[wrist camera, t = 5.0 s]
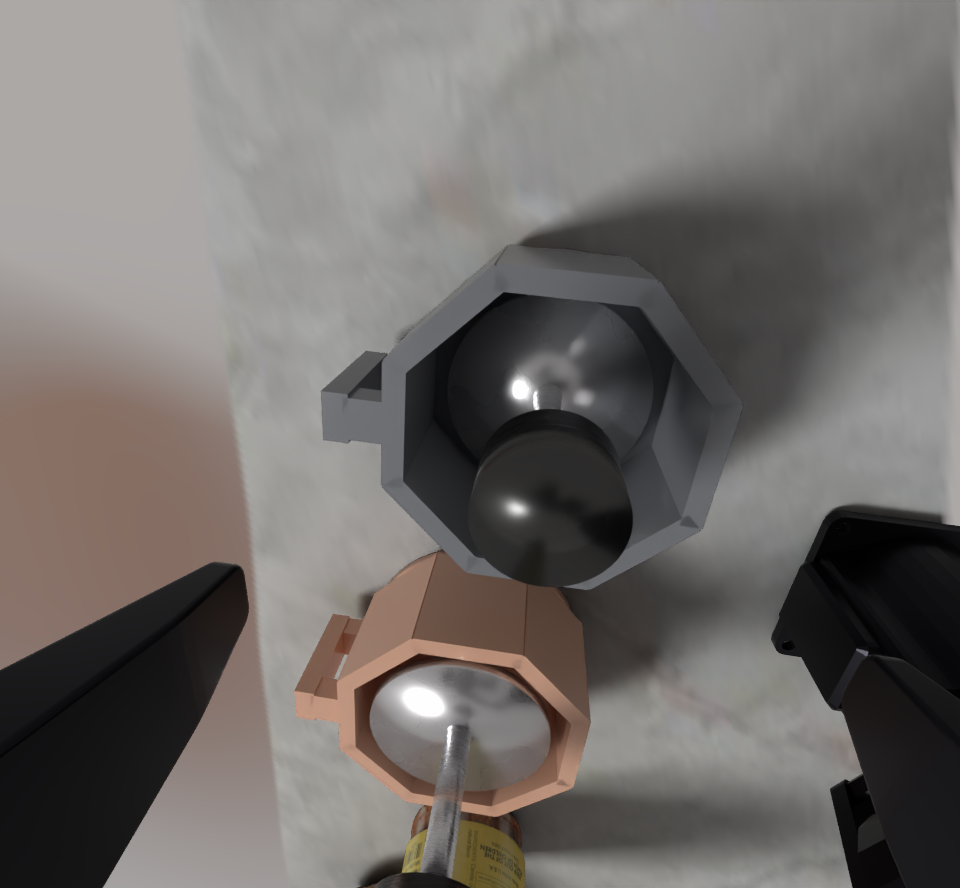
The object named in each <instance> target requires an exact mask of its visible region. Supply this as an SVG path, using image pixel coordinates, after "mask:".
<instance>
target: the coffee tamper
mask: <svg viewBox="0 0 960 888" xmlns="http://www.w3.org/2000/svg"><path fill="white" fill-rule="evenodd" d="M447 397H448V405H449V411H450V414H451V418H452V421H453V424H454V426H455V428H456V431H457V433H458V434H459V436H460V438H461V439H462V441H463V443H464V444H465V445H466V447H467V448H468V449H469V450H470V452H471V453H472V454H473V455H474V456H475V457H476V458H477V459H478V460H479V461H480V462H479V466H478V470H477V474H476V479H475V483H474V487H473V491H472V495H471V499H470V503H469V509H468V525H469V531H470V534H471V537H472V540H473V542H474V544H475V546H476V548H477V549H478V551H479V552H480V554H481V555H482V556H483V557H484V559H485V560H486V561H487V562H488V563H489V564H490V565H491V566H493V567H494V568H495V569H497V570H498V571H499V572H501V573H502V574H504V575H506V576H508V577H509V578H512V579H514V580H516V581H519V582H522V583H525V584H529V585H534V586H541V587H563V586H570V585H574V584H579V583H582V582H585V581H587V580H590V579H592V578H594V577H596V576H598V575H599V574H601V573H603V572H604V571H605V570H607V569H608V568H609V567H610V566H612V565H613V564H614V563H615V562H616V561H617V560H618V558H619V557H620V556H621V554H622V553H623V552H624V550H625V548H626V546H627V544H628V542H629V539H630V536H631V533H632V527H633V512H632V506H631V502H630V498H629V495H628V491H627V487H626V484H625V480H624V476H623V473H622V469H621V465H620V461H619V460H620V459H621V458H622V457H623V456H624V455H626V454H627V452H628V451H629V450H630V449H631V448H632V447H633V445H634V444H635V443H636V441H637V440H638V438H639V437H640V435H641V433H642V431H643V429H644V427H645V425H646V423H647V420H648V417H649V414H650V411H651V406H652V400H653V377H652V370H651V366H650V362H649V359H648V356H647V354H646V352H645V349H644V347H643V345H642V344H641V342H640V340H639V339H638V337H637V335H636V334H635V332H634V331H633V329H632V328H631V327H630V326H629V325H628V323H627V322H626V321H625V320H624V319H623V318H622V317H621V316H619V315H618V314H617V313H616V312H615V311H614V310H612V309H611V308H609V307H608V306H606V305H605V304H603V303H600V302H591V301H581V300H572V299H563V298H554V297H545V296H536V295H527V294H522V295H519V296H516V297H513V298H511V299H508V300H506V301H504V302H502V303H501V304H499V305H497V306H495V307H494V308H492V309H491V310H490V311H488V312H487V313H485V314H484V315H483V316H482V317H481V318H480V319H479V320H478V321H477V322H476V323H475V324H474V325H473V326H472V327H471V329H470V330H469V331H468V332H467V334H466V335H465V337H464V339H463V340H462V342H461V344H460V345H459V347H458V349H457V351H456V354H455V356H454V358H453V361H452V364H451V368H450V371H449V377H448V385H447Z"/></svg>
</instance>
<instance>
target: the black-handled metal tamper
mask: <svg viewBox="0 0 960 888" xmlns="http://www.w3.org/2000/svg"><path fill="white" fill-rule="evenodd" d="M370 728H371V731H372V735H373V737H374V739H375V741H376V743H377V745H378V746H379V748H380V749H381V750H382V752H383V753H384V754H385V755H386V756H387V757H388V758H389V759H390V760H391V761H392V762H393V763H394V764H396V765H397V766H398V767H400V768H401V769H402V770H404V771H406V772H407V773H409V774H411V775H412V776H414V777H416V778H418V779H421V780H423V781H426V782H428V783H431V784H434V785H436V788H435V793H434V799H433V804H432V810H431V815H430V820H429V826H428V831H427V836H426V842H425V847H424V853H423V858H422V863H421V869H420V872H407V873H399V874H394V875H391V876H388V877H386V878H384V879H382V880H381V881H379V882H378V883H377V884H376V885H375V887H374V888H470V887H468V886H467V885H465V884H463V883H461V882H459V881H456V880H454V879H452V872H453V865H454V858H455V850H456V843H457V836H458V829H459V821H460V814H461V807H462V800H463V792H464V791H487V790H495V789H500V788H504V787H508V786H511V785H514V784H516V783H518V782H521V781H523V780H525V779H526V778H528V777H529V776H531V775H532V774H533V773H534V772H536V771H537V770H538V769H539V768H540V766H541V765H542V764H543V763H544V761H545V759H546V757H547V755H548V752H549V749H550V742H551V727H550V718H549V714H548V711H547V709H546V706H545V704H544V702H543V701H542V699H541V698H540V696H539V695H538V694H537V693H536V691H535V690H534V689H533V688H532V687H531V686H530V685H529V684H527V683H526V682H525V681H524V680H523V679H521V678H520V677H518V676H517V675H515V674H514V673H512V672H510V671H508V670H506V669H505V668H503V667H500V666H498V665H492V664H486V663H479V662H473V661H466V660H460V659H453V658H447V657H440V656H432V657H426V658H421V659H418V660H415V661H411V662H409V663H407V664H404V665H402V666H400V667H399V668H397V669H396V670H394V671H393V672H391V673H390V674H389V675H388V676H387V677H386V678H385V679H384V680H383V682H382V683H381V684H380V686H379V688H378V690H377V692H376V695H375V698H374V701H373V704H372V707H371V710H370Z"/></svg>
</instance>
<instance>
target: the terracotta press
mask: <svg viewBox="0 0 960 888" xmlns="http://www.w3.org/2000/svg"><path fill="white" fill-rule="evenodd" d="M344 654H347V655H348V657H347V659H346V662H345V664H344V666H343V669H342V671H341V673H340V676H339V678H338V680H336V679H334V677H335V675H336V672H337V670H338V668H339V665H340V663H341V661H342V658H343V656H344ZM432 656H440V657H447V658H453V659H460V660H466V661H473V662H479V663H486V664H492V665H498V666H500V667H503V668H505V669H506V670H508V671H510V672H512V673H514V674H515V675H517V676H518V677H520V678H521V679H523V680H524V681H525V682H526V683H527V684H529V685H530V686H531V687H532V688H533V689H534V690H535V691H536V693H537V694H538V695H539V696H540V698H541V699H542V701H543V702H544V704H545V706H546V709H547V711H548V714H549V718H550V727H551V742H550V749H549V752H548V755H547V757H546V759H545V761H544V763H543V764H542V765H541V766H540V768H539V769H538V770H537V771H536V772H534V773H533V774H532V775H531V776H529V777H528V778H526V779H525V780H523V781H521V782H518V783H516V784H514V785H511V786H508V787H504V788H500V789H495V790H487V791H464V792H463V800H462V807H461V811H464V812H469V813H475V814H481V815H487V816H493V817H496V816H497V817H498V816H501V815H503V814H506V813H509V812H511V811H514V810H517V809H519V808H522V807H524V806H527V805H530V804H532V803H535V802H538V801H540V800H543V799H546V798H548V797H551V796H554V795H556V794H559V793H561V792H564V791H567V790H569V789H572V787H574V783H575V779H576V775H577V772H578V768H579V764H580V761H581V757H582V753H583V749H584V746H585V742H586V738H587V735H588V731H589V727H590V723H591V721H590V709H589V697H588V685H587V673H586V661H585V649H584V637H583V625H582V623H581V622H580V621H579V620H578V619H577V618H576V616H575V615H574V614H573V613H572V610H571V608H570V605H569V603H568V602H567V600H566V598H565V597H564V595H563V594H562V592H561V591H560V590H559V589H558V587H541V586H534V585H529V584H525V583H522V582H519V581H516V580H513V579H506V578H499V577H492V576H485V575H478V574H472V573H467V571H466V572H465V571H464V570H463V569H462V568H461V567H460V566H459V565H458V564H457V563H456V562H455V561H454V560H453V559H452V558H451V557H450V556H449V555H448V554H447V553H446V552H445V551H440V552H436V553H432V554H429V555H427V556H424V557H421V558H419V559H417V560H415V561H413V562H412V563H410V564H408V565H407V566H406V567H404V568H403V569H402V570H400V571H399V572H398V573H397V574H396V575H395V576H394V577H393V578H392V579H391V581H390V582H389V584H388V585H387V586H385V587H383V588H382V589H380V590H379V591H377V592H376V593H375V594H374V596H373V598H372V601H371V603H370V605H369V608H368V610H367V612H366V615H365V617H364V620H358V619H351V618H349V616H343V615H336V614H333V615H332V617H331V619H330V621H329V623H328V625H327V627H326V629H325V631H324V633H323V635H322V637H321V639H320V641H319V643H318V645H317V647H316V649H315V651H314V653H313V655H312V657H311V659H310V661H309V663H308V665H307V667H306V669H305V671H304V673H303V675H302V677H301V679H300V681H299V683H298V685H297V687H296V689H295V691H294V692H295V703H296V713H297V717H298V718H304V719H310V720H316V719H321V720H327V721H333V722H339V742H340V749H341V750H342V751H343V752H344V753H346V754H347V755H348V756H349V757H351V758H352V759H353V760H354V761H355V762H357V763H358V764H359V765H360V766H362V767H363V768H364V769H365V770H367V771H368V772H369V773H370V774H372V775H373V776H374V777H375V778H377V779H378V780H379V781H380V782H382V783H383V784H384V785H385V786H387V787H388V788H389V789H390V790H392V791H393V792H394V793H395V794H397V795H398V796H399V797H400V798H402V799H403V800H404V801H406V802H412V803H417V804H423V805H429V806H432V804H433V799H434V793H435V788H436V785H434V784H431V783H428V782H426V781H423V780H421V779H418V778H416V777H414V776H412V775H411V774H409V773H407V772H406V771H404V770H402V769H401V768H400V767H398V766H397V765H396V764H394V763H393V762H392V761H391V760H390V759H389V758H388V757H387V756H386V755H385V754H384V753H383V752H382V750H381V749H380V748H379V746H378V745H377V743H376V741H375V739H374V737H373V735H372V731H371V728H370V710H371V707H372V704H373V701H374V698H375V695H376V692H377V690H378V688H379V686H380V684H381V683H382V682H383V680H384V679H385V678H386V677H387V676H388V675H389V674H390V673H391V672H393V671H394V670H396V669H397V668H399V667H400V666H402V665H404V664H407V663H409V662H411V661H415V660H418V659H421V658H426V657H432Z"/></svg>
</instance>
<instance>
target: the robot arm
mask: <svg viewBox="0 0 960 888" xmlns="http://www.w3.org/2000/svg"><path fill="white" fill-rule="evenodd" d="M842 523H845V525H844V526H843V527H841V528H839V529H836V527H837V526H838V525H840V524H842ZM248 612H249V603H248V596H247V589H246V582H245V575H244V571H243V569H242V567H241V566H239V565H237V564H230V563H223V562H212V563H210V564H207V565H205V566H203V567H201V568H199V569H197V570H195V571H193V572H191V573H189V574H187V575H186V576H184V577H182V578H180V579H178V580H176V581H174V582H172V583H170V584H168V585H166V586H164V587H162V588H160V589H158V590H156V591H154V592H152V593H150V594H148V595H146V596H144V597H142V598H140V599H139V600H137V601H135V602H133V603H131V604H129V605H127V606H125V607H123V608H121V609H119V610H117V611H115V612H113V613H111V614H109V615H107V616H105V617H103V618H102V619H99V620H97V621H95V622H93V623H92V624H90V625H88V626H86V627H84V628H82V629H80V630H78V631H76V632H74V633H72V634H70V635H68V636H66V637H65V638H62V639H60V640H58V641H56V642H55V643H52V644H50V645H48V646H46V647H45V648H43V649H41V650H39V651H37V652H35V653H33V654H31V655H29V656H27V657H25V658H23V659H21V660H19V661H17V662H15V663H13V664H11V665H9V666H7V667H5V668H3V669H1V670H0V888H103V886H104V885H105V883H106V881H107V879H108V878H109V876H110V874H111V873H112V871H113V869H114V868H115V866H116V864H117V863H118V861H119V859H120V857H121V856H122V854H123V852H124V851H125V849H126V847H127V845H128V844H129V842H130V840H131V839H132V836H133V835H134V833H135V832H136V830H137V828H138V827H139V825H140V823H141V822H142V820H143V818H144V817H145V815H146V813H147V811H148V810H149V808H150V806H151V804H152V803H153V801H154V799H155V798H156V796H157V794H158V793H159V791H160V789H161V788H162V786H163V784H164V782H165V781H166V779H167V777H168V775H169V774H170V772H171V770H172V769H173V767H174V765H175V764H176V762H177V760H178V758H179V757H180V755H181V753H182V752H183V750H184V748H185V746H186V745H187V743H188V741H189V740H190V738H191V736H192V734H193V733H194V731H195V729H196V727H197V725H198V724H199V722H200V720H201V718H202V716H203V714H204V712H205V710H206V708H207V706H208V704H209V702H210V699H211V697H212V695H213V693H214V691H215V688H216V686H217V684H218V682H219V680H220V678H221V675H222V673H223V671H224V669H225V667H226V665H227V662H228V660H229V658H230V656H231V654H232V651H233V649H234V647H235V645H236V643H237V641H238V639H239V636H240V634H241V632H242V630H243V627H244V626H245V623H246V621H247V617H248ZM779 617H780V618H779V621H778V623H777V625H776V627H775V630H774V632H773V634H772V637H771V640H772V643H773V645H774V647H775V649H776V651H778V652H779V653H781V654H784V655H790V656H797V657H801V658H802V659H803V661H804V663H805V665H806V667H807V669H808V670H809V672H810V674H811V676H812V678H813V680H814V681H815V683H816V685H817V687H818V689H819V691H820V692H821V694H822V696H823V698H824V700H825V701H826V703H827V704H828V705H829V706H830V708H831V709H832V710H836V711H842V713H843V714H844V717H845V720H846V723H847V726H848V729H849V732H850V735H851V738H852V741H853V744H854V747H855V750H856V753H857V757H858V760H859V763H860V766H861V769H862V772H863V774H861V775H859V776H858V777H856V778H854V779H853V780H851V781H848V780H844V781H842V782H840V783H839V784H837V785H835V786H834V787H832V788H830V791H831V796H832V800H833V805H834V809H835V813H836V818H837V822H838V826H839V831H840V835H841V839H842V844H843V848H844V852H845V857H846V861H847V866H848V870H849V874H850V879H851V883H852V887H853V888H960V526H955V525H947V524H940V523H932V522H924V521H917V520H909V519H901V518H894V517H886V516H878V515H871V514H863V513H855V512H848V511H836V512H833V513H830V514H829V515H828V516H826V517H825V519H824V520H823V522H822V524H821V526H820V529H819V531H818V533H817V535H816V538H815V540H814V542H813V544H812V547H811V549H810V551H809V553H808V556H807V558H806V560H805V562H804V563H803V564H802V565H801V566H800V568H799V571H798V573H797V575H796V577H795V580H794V582H793V584H792V586H791V589H790V591H789V593H788V595H787V598H786V600H785V602H784V604H783V607H782V609H781V611H780V613H779ZM785 641H788V642H785Z"/></svg>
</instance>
